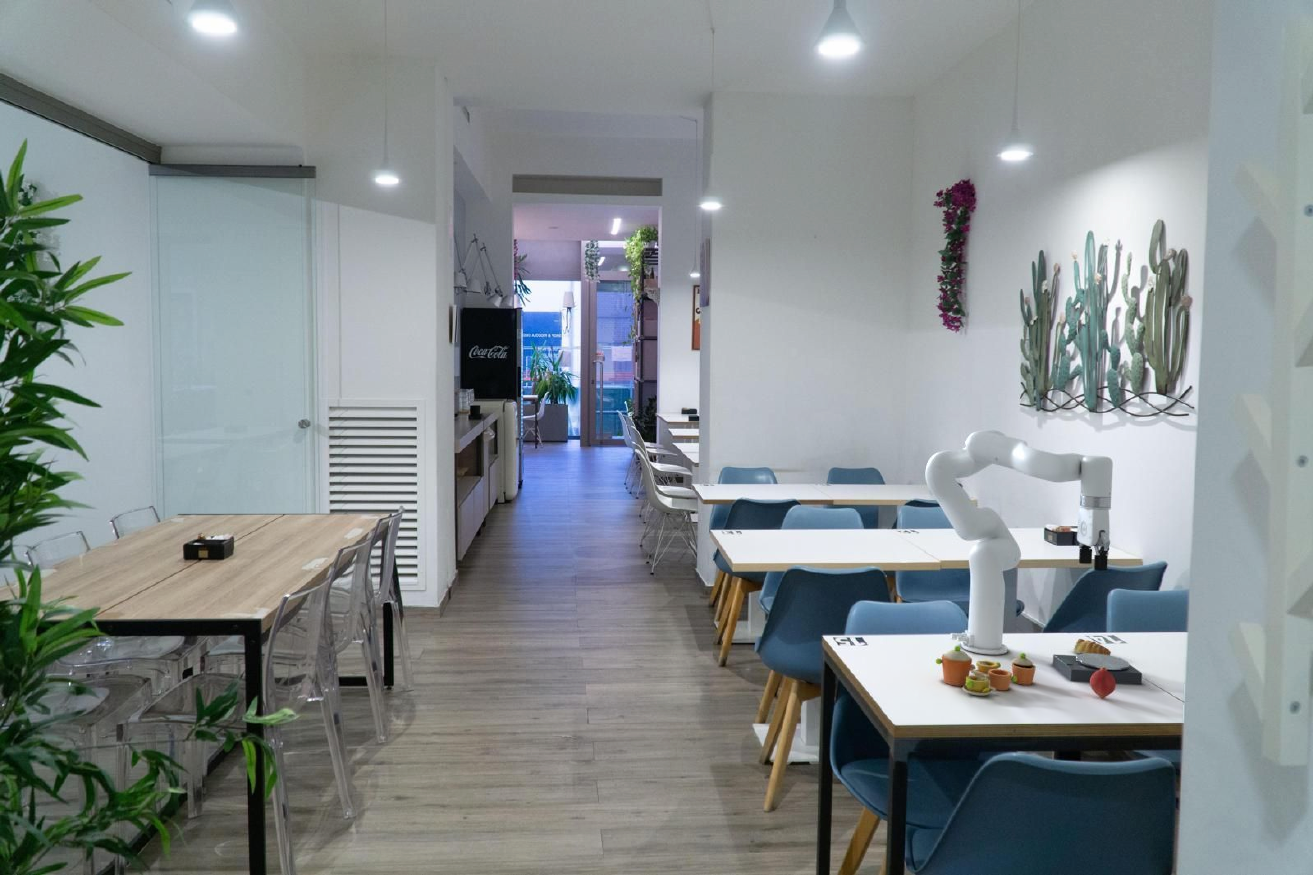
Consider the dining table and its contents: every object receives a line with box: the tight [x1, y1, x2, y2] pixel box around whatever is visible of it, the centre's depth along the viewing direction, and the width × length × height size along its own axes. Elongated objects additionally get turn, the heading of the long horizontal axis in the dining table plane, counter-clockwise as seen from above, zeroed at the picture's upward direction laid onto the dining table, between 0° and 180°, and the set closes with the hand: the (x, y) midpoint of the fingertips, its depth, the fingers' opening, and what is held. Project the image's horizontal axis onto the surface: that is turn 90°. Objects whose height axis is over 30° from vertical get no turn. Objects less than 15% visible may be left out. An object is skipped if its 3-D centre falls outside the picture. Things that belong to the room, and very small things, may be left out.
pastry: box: [1073, 638, 1112, 656], centre depth 283 cm, size 9×7×4 cm
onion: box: [1089, 667, 1117, 699], centre depth 245 cm, size 6×6×8 cm
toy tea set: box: [935, 645, 1037, 696], centre depth 253 cm, size 26×16×10 cm, turn 122°
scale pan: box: [1075, 653, 1130, 670], centre depth 264 cm, size 13×13×1 cm
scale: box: [1052, 654, 1143, 685], centre depth 265 cm, size 18×14×3 cm
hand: (1092, 566), depth 263 cm, fingers open, 9 cm apart
